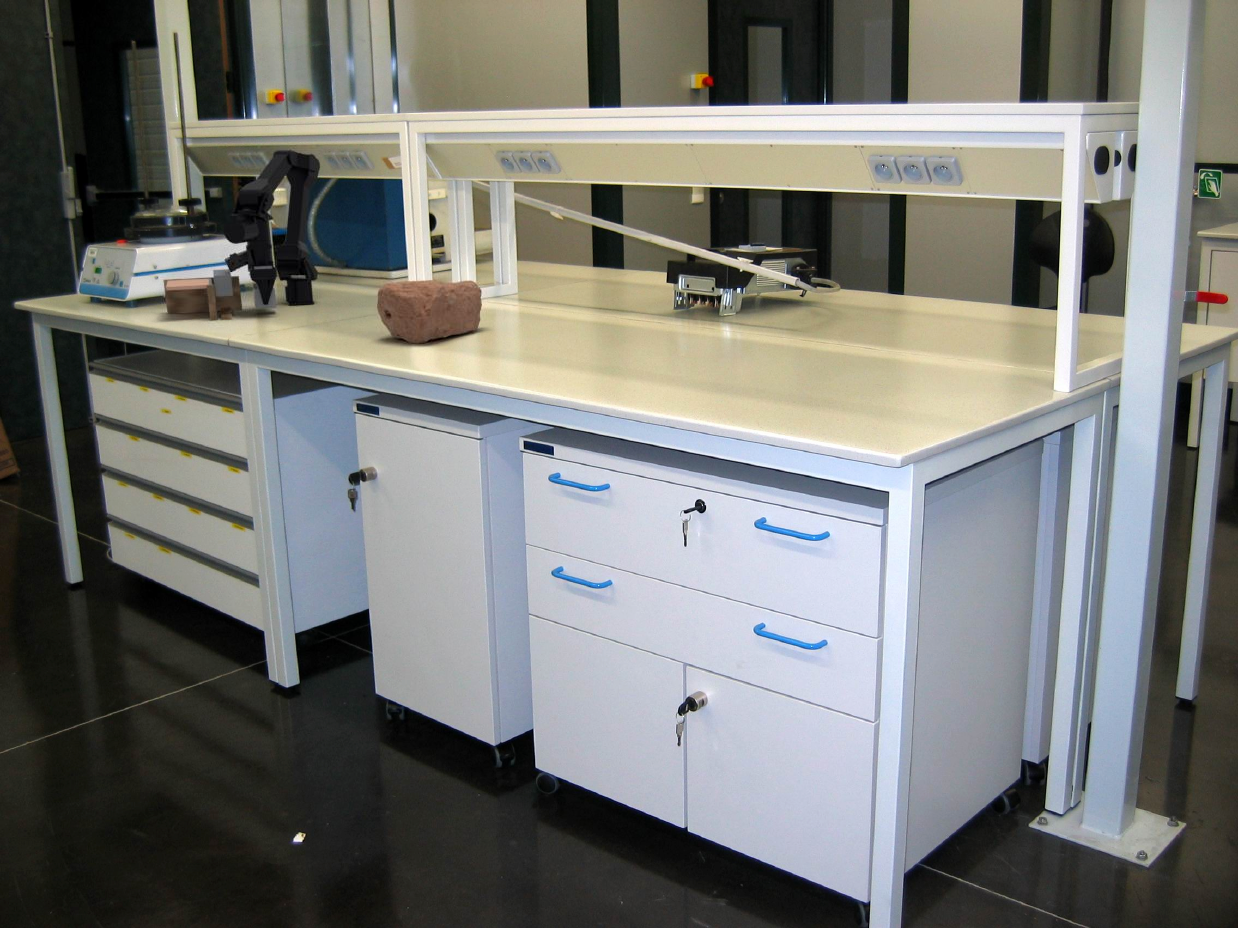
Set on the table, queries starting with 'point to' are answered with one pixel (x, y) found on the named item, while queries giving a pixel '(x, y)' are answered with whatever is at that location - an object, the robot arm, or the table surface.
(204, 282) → the trapdoor
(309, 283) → the robot arm
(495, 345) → the table surface
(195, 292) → the frame
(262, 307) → the slate block
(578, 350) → the table surface
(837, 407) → the table surface
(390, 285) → the stone
